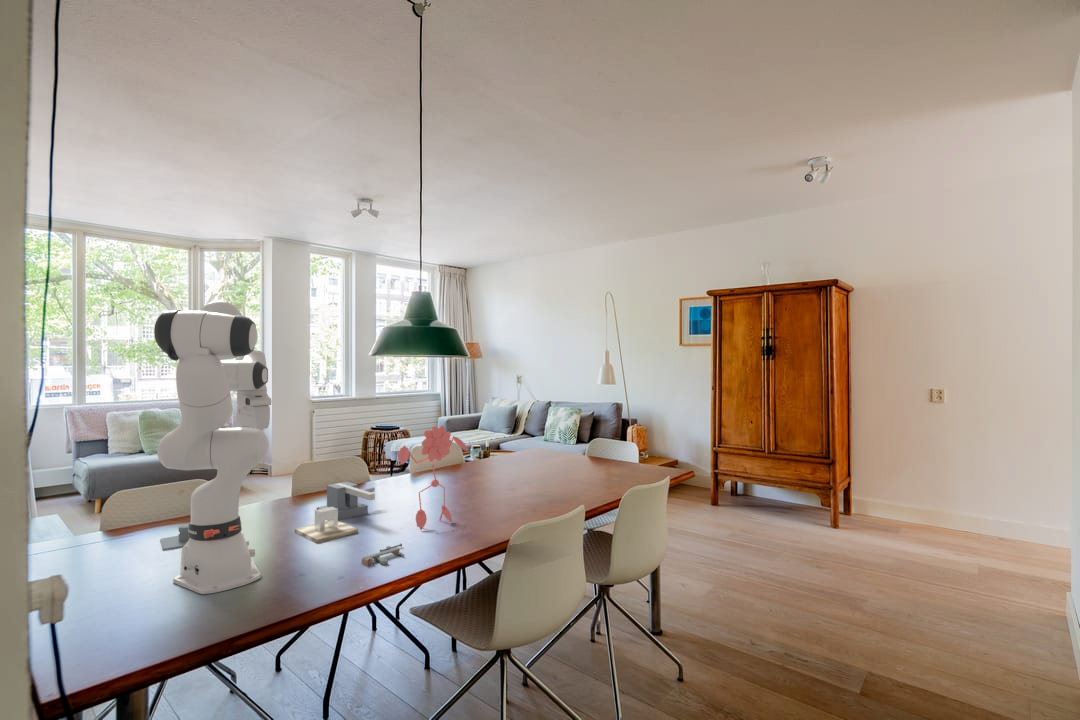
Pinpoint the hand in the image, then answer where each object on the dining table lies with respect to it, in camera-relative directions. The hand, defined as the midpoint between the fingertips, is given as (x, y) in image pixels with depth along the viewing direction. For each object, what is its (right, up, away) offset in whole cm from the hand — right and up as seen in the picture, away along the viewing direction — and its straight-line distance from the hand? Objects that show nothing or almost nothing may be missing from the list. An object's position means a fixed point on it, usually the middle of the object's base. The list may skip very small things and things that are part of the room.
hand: (251, 440), depth 176 cm
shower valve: (-15, -32, -8) cm, 36 cm away
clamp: (+52, -31, -23) cm, 65 cm away
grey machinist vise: (+30, -31, +18) cm, 47 cm away
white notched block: (+25, -30, 0) cm, 39 cm away
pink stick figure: (+62, -31, +5) cm, 69 cm away
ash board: (+25, -31, 0) cm, 40 cm away
